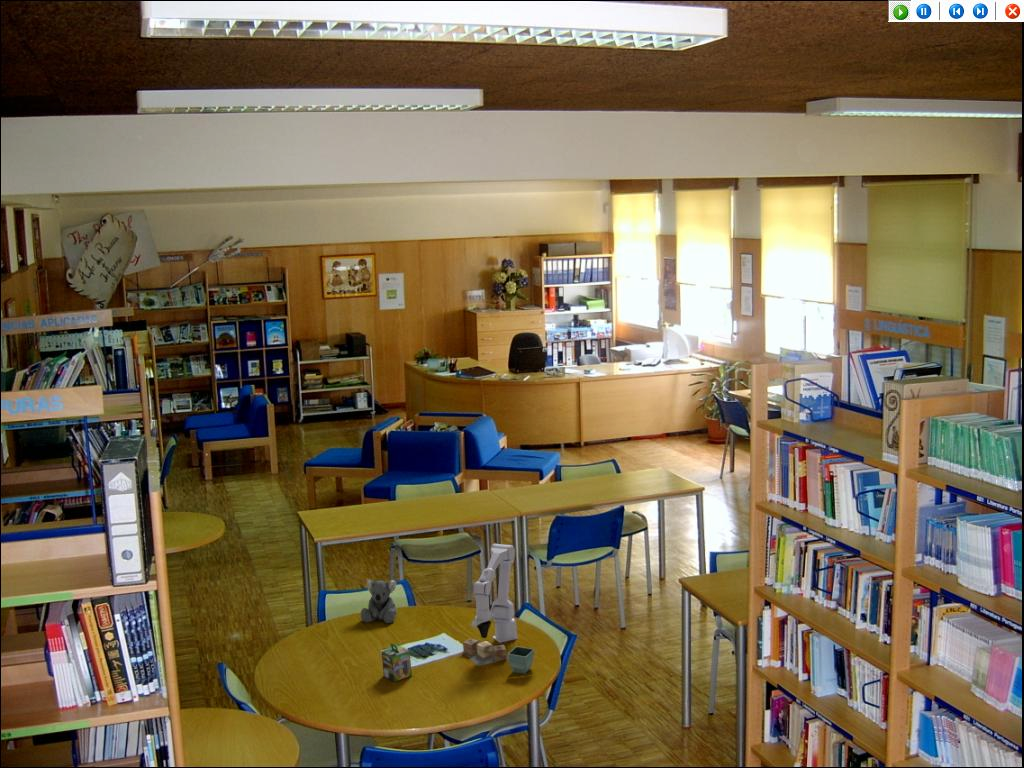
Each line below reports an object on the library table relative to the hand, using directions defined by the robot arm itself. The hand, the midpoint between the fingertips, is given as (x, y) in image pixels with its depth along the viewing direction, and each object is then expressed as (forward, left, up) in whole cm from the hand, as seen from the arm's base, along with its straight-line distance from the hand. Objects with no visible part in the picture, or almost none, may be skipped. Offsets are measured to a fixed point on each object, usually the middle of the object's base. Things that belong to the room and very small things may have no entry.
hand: (484, 637), depth 481 cm
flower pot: (-7, +23, -9) cm, 26 cm away
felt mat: (0, 0, -9) cm, 9 cm away
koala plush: (+25, -69, -9) cm, 74 cm away
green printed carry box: (+41, 0, -9) cm, 42 cm away
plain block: (0, 0, -8) cm, 8 cm away
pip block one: (-4, +7, -8) cm, 11 cm away
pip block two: (+4, -6, -8) cm, 11 cm away
